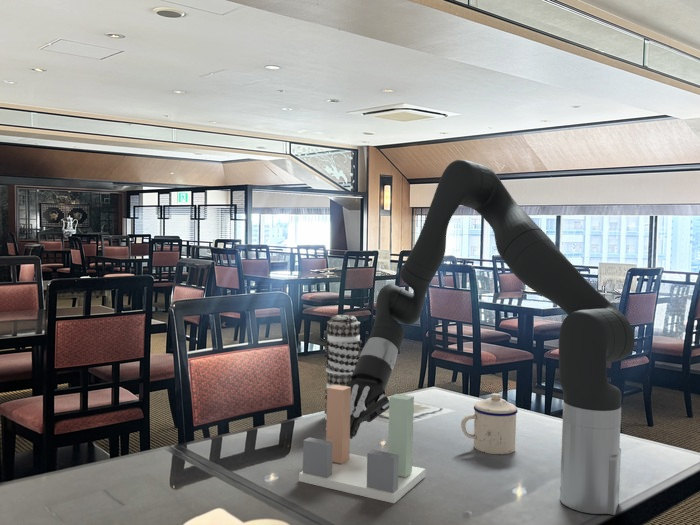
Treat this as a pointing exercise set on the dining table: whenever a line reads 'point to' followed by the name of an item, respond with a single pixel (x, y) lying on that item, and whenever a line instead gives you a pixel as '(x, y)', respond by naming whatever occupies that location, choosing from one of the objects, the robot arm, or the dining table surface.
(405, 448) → the sage tab
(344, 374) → the decorative candle
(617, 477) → the robot arm
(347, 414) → the terracotta tab
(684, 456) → the dining table surface
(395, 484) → the twin block stand
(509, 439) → the teacup with lid
